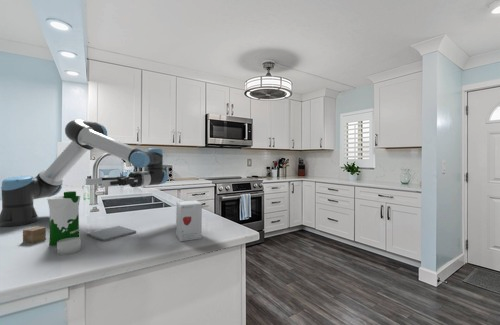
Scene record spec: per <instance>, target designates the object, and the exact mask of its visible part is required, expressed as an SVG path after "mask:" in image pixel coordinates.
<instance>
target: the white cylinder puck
mask: <svg viewBox="0 0 500 325" xmlns="http://www.w3.org/2000/svg"><path fill="white" fill-rule="evenodd" d="M80 251H82V238H81V237H80V236H79V237H72V238H66V239H62V240H59V241H58V242H57V245H56V254H57V255H59V256H60V255H61V256H67V255H73V254H75V253H78V252H80Z"/></svg>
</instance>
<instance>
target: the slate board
mask: <svg viewBox="0 0 500 325" xmlns="http://www.w3.org/2000/svg"><path fill="white" fill-rule="evenodd" d="M136 233H137V230H135V229H131V228H128V227H125V226H120V225H116V226H112V227H108V228H104V229H100V230H94V231H91V232H87V234H86V235H87V236H88V237H91V238H94V239H96V240H99V241H101V242H107V241H111V240H114V239H118V238H121V237H125V236H128V235H133V234H136Z"/></svg>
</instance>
